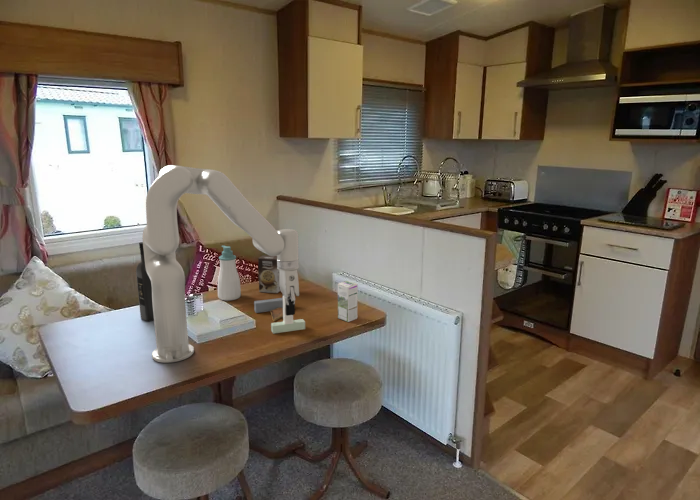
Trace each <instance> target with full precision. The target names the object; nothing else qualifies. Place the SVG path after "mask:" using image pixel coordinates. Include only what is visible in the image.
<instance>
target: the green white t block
mask: <svg viewBox="0 0 700 500" xmlns="http://www.w3.org/2000/svg"><path fill="white" fill-rule="evenodd" d="M288 296H290V295H288ZM282 297H283V317H282V321H277V322H276V321H275V322H271V323H270V331H271V333H272V334H274V335H275V334H280V333H286V332H287V333H288V332H293V331H300V330H301V331H302V330H306V321H305V320H304V319H303V318H302V319H301V318H299V319H294V315H288V316H287V315H286V305H287V301H286V297H285V296H283V295H282ZM289 299H291V298H289Z"/></svg>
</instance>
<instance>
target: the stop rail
mask: <svg viewBox="0 0 700 500" xmlns="http://www.w3.org/2000/svg"><path fill="white" fill-rule="evenodd" d="M253 305H254V307H253V308H254V313H256V314H257V313H258V314H259V313H265V312H270V311H271V310H274V309H277V308H283V299H282V297H278V298H271V299H270V298H269V299H262V300H254V301H253Z"/></svg>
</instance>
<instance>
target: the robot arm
mask: <svg viewBox="0 0 700 500" xmlns="http://www.w3.org/2000/svg"><path fill="white" fill-rule="evenodd" d="M185 194H191V195H192V194H193V195H203V196H204V195H205V196H207V197H208V198H209V199H210V200H211V201H212V202H213V203H214V204H215V206H217V207H218V209H219V210H220V211H221V212H222V213H223V214H224V216H225V217H227V219H229V221H231V223H233V225H235V226H237V227H238V228H240V229H241V230H242V231H244V232H245V233H247V235H249V237H251V238H252V245H253V247H254V248H256V249H257V250H258V251H260V252H261V253H264V254H265V255H266V256H277V269H279V270H280V271H279V272H280V275H279V282H280V291H279V292H281V293H282V297H281V298H282V299H283V296H285V297H286V301H287V305H286V315H287V316H288V315H293V316H294V315H296V297H299V296H300V287H299V286H300V284H299V283H300V282H299V274H298V269H299V234H298V233H299V232H298V231H297V230H296V229H294V228H293V229H292V228H282V229H279V230H278V229H277V230H276V228H275V227H274V225H272V224H271V223H270V222H269V221H268V219H266V218H265V216H263V214H261V213H260V212H259V210H257V209H256V208H255V207H254V206H253V205H252V203H250V201H249V200H248V199H247V198H246V197H245V196H244V195H243V194H242V192H241V191H240V189H239V188H237V186H235V184H234V183H233V182H232V181H231V179H230V178H229V177H228V176H227V175H226V174H225V173H224V172H222V171H220V170H216V169H209V168H198V167H196V168H195V167H192V166H191V167H190V166H184V165H174V164H169V165H166V166H164V167H163V168H161V169H160V171H159V173H158V177H157V178H156V179H155V180H154V181H153V183H152V184H151V185H150V187H149V188H148V191H147V194H146V198H145V212H146V213H145V215H146V225H145V227H144V228H143V231H142V242H143V249H144V259H145V267H146V272H147V274H148V276H149V278H150V280H151V285H152V304H153V313H154V320H153V321H154V322H153V323H154V331H155V344H156V348H155V349H154V350H153V351H152V352H151V358H152V360H154V361H155V362H158V363H165V364H167V363H169V364H171V363H176V362H177V363H178V362H181V361H183V360H186V359H188V358H190V357H192V355H193V354H194V352H195V347H194V345H192V344H190V343H189V334H188V333H189V332H188V331H189V330H188V321H187V308H186V306H187V305H186V296H185V295H186V289H185V288H186V276H185V275H186V274H185V271H184V269H183V267H182V265H181V264H180V263H179V261H178V260H177V256H176V250H177V249H178V247H179V244H180V234H179V225H178V211H177V210H178V208H177V207H178V202H179V200H180V198H181V197H182V196H183V195H185ZM288 295H290V296H288ZM289 298H291V299H289Z"/></svg>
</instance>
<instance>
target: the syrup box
mask: <svg viewBox="0 0 700 500" xmlns="http://www.w3.org/2000/svg"><path fill="white" fill-rule="evenodd" d="M358 286H359V285H358V283H357V282H356V283H355V282H353V281H349V280H345V281H341V282H339V283H337V319H339V320H342V321H345V322H347V323H350V322H352V321H355V320H357V319H358V294H359V293H358V292H359V289H358Z"/></svg>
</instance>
